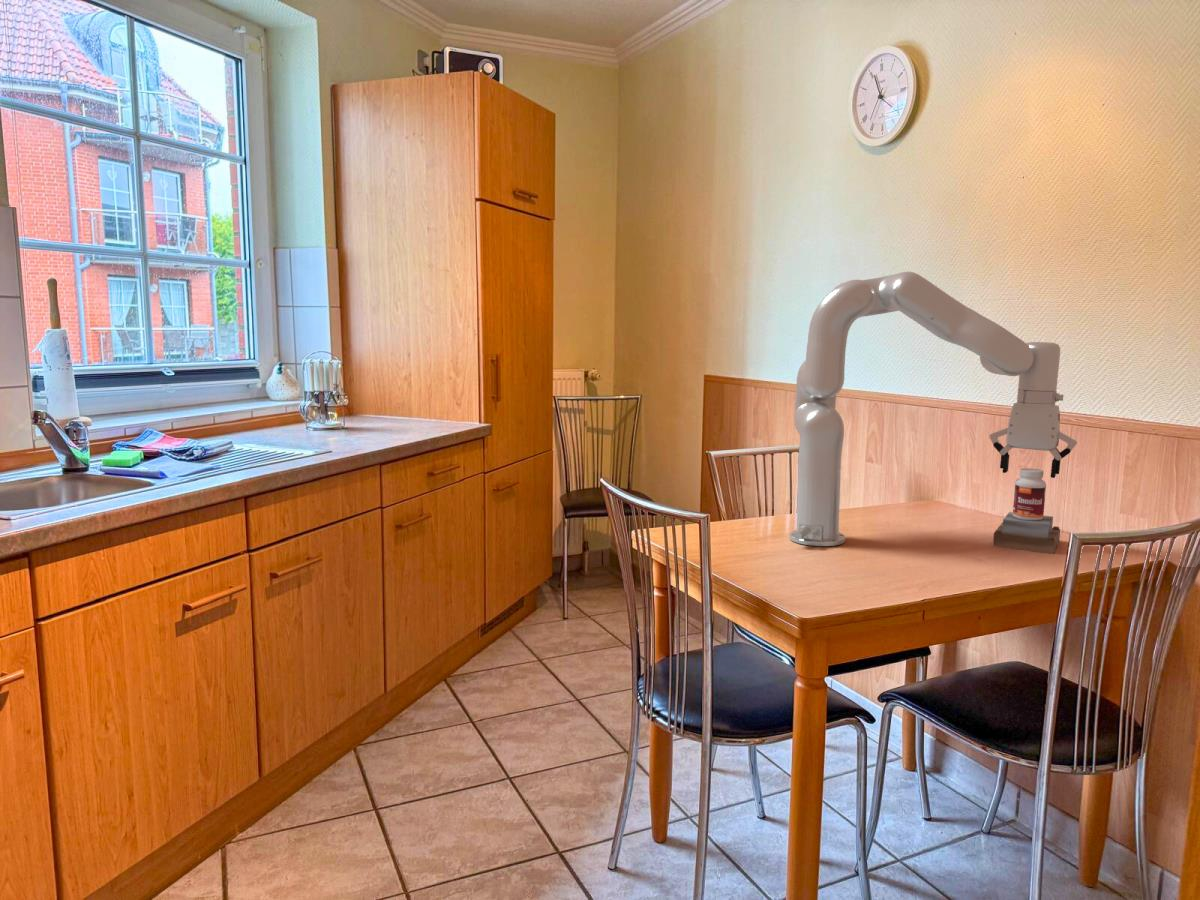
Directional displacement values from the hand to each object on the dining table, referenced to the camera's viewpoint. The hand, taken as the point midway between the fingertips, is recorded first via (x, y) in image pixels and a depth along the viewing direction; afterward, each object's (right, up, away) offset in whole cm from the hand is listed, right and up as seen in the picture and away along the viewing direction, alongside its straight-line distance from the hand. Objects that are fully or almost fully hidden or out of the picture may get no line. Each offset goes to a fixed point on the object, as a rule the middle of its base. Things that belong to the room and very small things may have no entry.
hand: (1028, 474), depth 183 cm
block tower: (+1, -16, +2) cm, 16 cm away
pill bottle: (+1, -10, +1) cm, 10 cm away
